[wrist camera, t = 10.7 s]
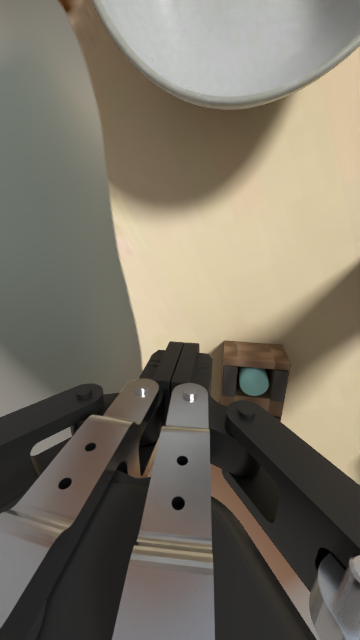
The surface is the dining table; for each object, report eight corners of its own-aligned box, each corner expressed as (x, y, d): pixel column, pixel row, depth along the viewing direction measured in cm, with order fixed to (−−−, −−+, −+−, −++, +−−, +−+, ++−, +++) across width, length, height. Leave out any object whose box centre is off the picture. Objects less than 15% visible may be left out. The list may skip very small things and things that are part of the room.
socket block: (281, 344, 40) (291, 365, 34) (269, 420, 46) (276, 449, 40) (224, 340, 42) (223, 360, 36) (219, 414, 47) (217, 441, 41)
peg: (264, 353, 41) (270, 373, 35) (261, 375, 42) (267, 397, 37) (239, 351, 41) (241, 370, 36) (237, 372, 43) (238, 394, 37)
